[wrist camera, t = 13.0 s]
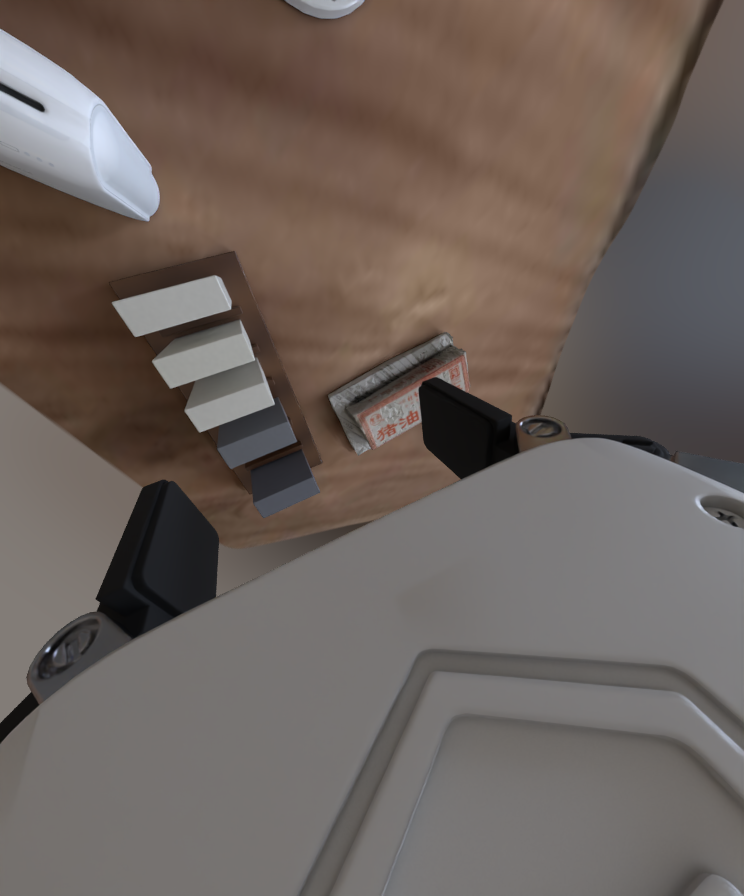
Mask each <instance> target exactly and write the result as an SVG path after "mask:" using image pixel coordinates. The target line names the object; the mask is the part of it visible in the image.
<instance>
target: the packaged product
mask: <svg viewBox="0 0 744 896" xmlns="http://www.w3.org/2000/svg"><path fill="white" fill-rule="evenodd" d="M452 338H453V337H452V336H451V335H450V334H449V333H447V332H444V333H442V334H440V335H438V336H437V337H435V338H433V339H431V340H429V341H428V342H425V343H423V344H421V345H419V346H417V347H415V348H413V349H411V350H409V351H406V352H404V353H402V354H400V355H398V356H396V357H394V358H392V359H390V360H388V361H386V362H384V363H383V364H381V365H379V366H377V367H376V368H374V369H372V370H371V371H369V372H367V373H365V374H364V375H362V376H360V377H358V378H357V379H355V380H353V381H351V382H350V383H348V384H346V385H344V386H343V387H341V388H339V389H337V390H336V391H334V392H332V393H331V394H329V395H328V397H329V400H330V403H331V406H332V408H333V410H334V411H335V413H336V415H337V416H338V418H339V420H340V422H341V425H342V427H343V429H344V432H345V434H346V436H347V438H348V440H349V442H350V443H351V445H352V446H353V448H354V450H355V451H356V453H357V454H358V456H359V455H360V454H361V453H363V452H365V451H366V450H368V449H372V450H373V449H376V448H377V447H379V446H381V445H383V444H385V443H387V442H388V441H390V440H392V439H393V438H395V437H397V436H399V435H400V434H402V433H404V432H405V431H407V430H409V429H411V428H412V427H414V426H416V425H417V424H419V423H421V422H422V420H421V411H420V401H419V391H418V389H419V387H420V386H421V384H422V382H423V381H426V380H428V379H431V378H434V377H438V378H440V379H442V380H444V381H446V382H448V383H450V384H452V385H454V386H456V387H457V388H459V389H461V390H463V391H465V392H467V393H468V392H469V389H470V383H469V377H468V363H467V360H466V351H463V350H462V349H458V348H456V347H455V346H453V340H452Z"/></svg>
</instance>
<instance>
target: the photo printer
mask: <svg viewBox="0 0 744 896" xmlns="http://www.w3.org/2000/svg"><path fill="white" fill-rule="evenodd" d="M0 165H1V166H4V167H6V168H8V169H10V170H13V171H15V172H17V173H20V174H22V175H24V176H27V177H29V178H31V179H34V180H36V181H38V182H41V183H43V184H45V185H48V186H50V187H52V188H55V189H57V190H60V191H62V192H65V193H67V194H70V195H72V196H75V197H77V198H79V199H82V200H85V201H87V202H90V203H92V204H95V205H97V206H100V207H103V208H105V209H108V210H111V211H113V212H116V213H119V214H121V215H124V216H127V217H131V218H134V219H138V220H142V221H149V217H150V216H152V215H153V214H154V213H155V212H156V211H157V209H158V206H159V201H160V195H159V189H158V186H157V183H156V181H155V179H154V177H153V175H152V173H151V170H152V168H151V165H150V164H149V162H148V161H147V160H146V158H145V157H144V156H143V154H142V153H141V152H140V151H139V149H138V148H137V146H136V145H135V144H134V142H133V141H132V140H131V138H130V137H129V136H128V135H127V133H126V132H125V130H124V129H123V128H122V126H121V125H120V123H119V122H118V121H117V119H116V118H115V117H114V115H113V114H112V113H111V111H110V110H109V109H108V107H107V106H106V105H105V103H104V102H103V101H102V100H101V99H100V98H99V97H98V96H96V95H95V94H94V93H93V92H92V91H90V90H89V89H88V88H87V87H85V86H84V85H83V84H82V83H80V82H79V81H78V80H77V79H76V78H74V77H73V76H72V75H71V74H69V73H68V72H67V71H65V70H64V69H62V68H61V67H59V66H58V65H56V64H55V63H53V62H52V61H50V60H49V59H47V58H46V57H44V56H43V55H41V54H40V53H38V52H37V51H35V50H34V49H32V48H31V47H29V46H27V45H26V44H24V43H23V42H21V41H19V40H18V39H16V38H14V37H13V36H11V35H10V34H8V33H6V32H5V31H3V30H1V29H0Z"/></svg>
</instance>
